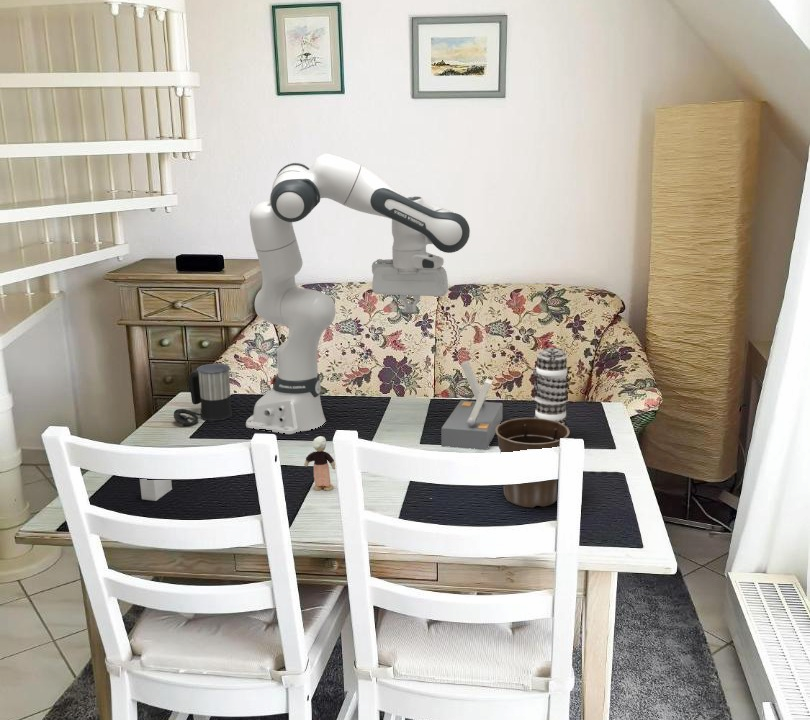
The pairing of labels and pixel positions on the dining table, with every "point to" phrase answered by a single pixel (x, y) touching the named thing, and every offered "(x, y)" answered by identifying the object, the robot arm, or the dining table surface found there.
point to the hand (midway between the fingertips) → (410, 311)
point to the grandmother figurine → (321, 464)
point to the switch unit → (471, 436)
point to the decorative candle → (551, 385)
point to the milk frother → (208, 394)
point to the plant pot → (526, 437)
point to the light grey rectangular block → (154, 488)
